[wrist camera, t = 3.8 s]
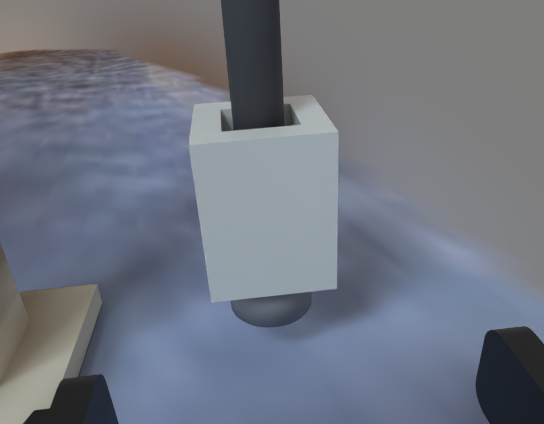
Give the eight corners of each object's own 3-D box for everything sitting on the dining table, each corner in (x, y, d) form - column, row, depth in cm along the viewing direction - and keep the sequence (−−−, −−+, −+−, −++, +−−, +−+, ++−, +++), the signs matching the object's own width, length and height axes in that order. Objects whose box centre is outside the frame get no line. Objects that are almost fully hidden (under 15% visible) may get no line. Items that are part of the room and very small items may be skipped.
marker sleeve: (211, 302, 17) (188, 145, 15) (211, 237, 21) (194, 104, 19) (336, 288, 18) (338, 131, 15) (314, 227, 22) (312, 94, 19)
